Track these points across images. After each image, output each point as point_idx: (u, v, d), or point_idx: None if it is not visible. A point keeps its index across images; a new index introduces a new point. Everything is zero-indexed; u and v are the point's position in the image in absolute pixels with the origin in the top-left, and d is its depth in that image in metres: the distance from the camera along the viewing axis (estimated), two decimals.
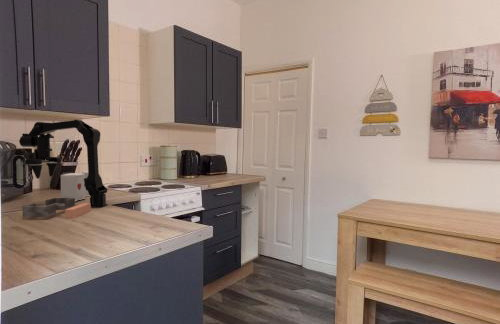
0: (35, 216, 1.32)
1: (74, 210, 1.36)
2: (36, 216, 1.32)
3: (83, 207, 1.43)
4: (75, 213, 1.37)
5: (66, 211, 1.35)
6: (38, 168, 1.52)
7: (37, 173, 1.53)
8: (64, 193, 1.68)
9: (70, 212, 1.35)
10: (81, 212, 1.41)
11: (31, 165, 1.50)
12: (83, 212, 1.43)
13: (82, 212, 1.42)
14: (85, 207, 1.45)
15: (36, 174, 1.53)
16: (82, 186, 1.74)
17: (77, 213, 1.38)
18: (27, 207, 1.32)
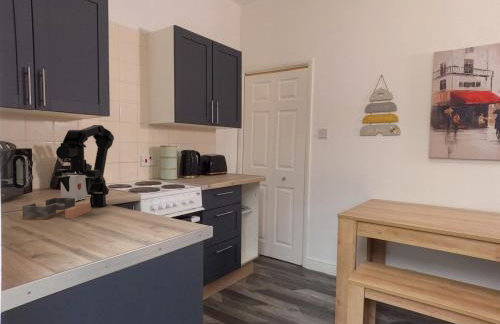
0: (35, 216, 1.32)
1: (74, 210, 1.36)
2: (36, 216, 1.32)
3: (83, 207, 1.43)
4: (75, 213, 1.37)
5: (66, 211, 1.35)
6: None
7: None
8: (64, 193, 1.68)
9: (70, 212, 1.35)
10: (81, 212, 1.41)
11: None
12: (83, 212, 1.43)
13: (82, 212, 1.42)
14: (85, 207, 1.45)
15: None
16: (82, 186, 1.74)
17: (77, 213, 1.38)
18: (27, 207, 1.32)
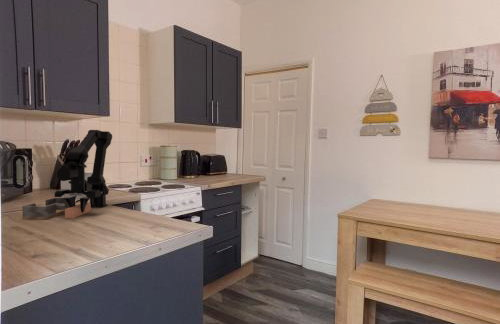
0: (35, 216, 1.32)
1: (74, 210, 1.36)
2: (36, 216, 1.32)
3: None
4: (75, 212, 1.37)
5: (66, 211, 1.35)
6: None
7: None
8: None
9: (70, 212, 1.35)
10: (81, 212, 1.41)
11: None
12: (83, 212, 1.43)
13: (82, 212, 1.42)
14: None
15: None
16: None
17: (77, 213, 1.38)
18: (27, 207, 1.32)
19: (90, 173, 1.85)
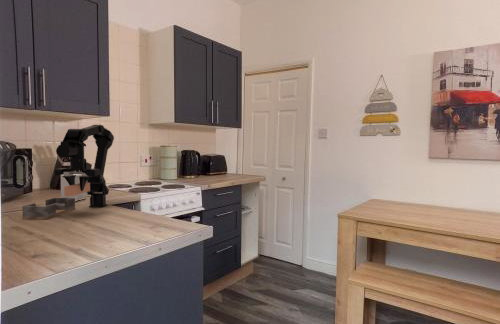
0: (35, 216, 1.32)
1: (73, 187, 1.35)
2: (36, 216, 1.32)
3: None
4: (75, 190, 1.36)
5: (65, 188, 1.34)
6: None
7: None
8: None
9: (69, 189, 1.34)
10: (80, 190, 1.40)
11: None
12: None
13: None
14: (85, 185, 1.44)
15: None
16: None
17: (76, 190, 1.37)
18: (27, 207, 1.32)
19: None
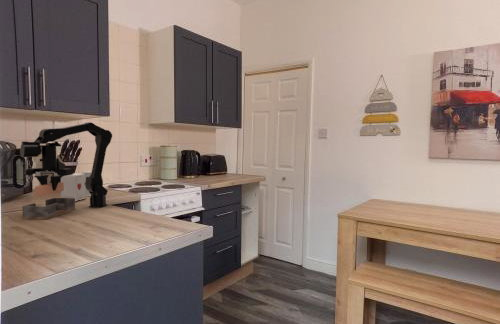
0: (35, 216, 1.32)
1: (44, 187, 1.36)
2: (36, 216, 1.32)
3: None
4: (46, 190, 1.36)
5: (36, 188, 1.34)
6: None
7: None
8: (64, 193, 1.68)
9: (40, 189, 1.34)
10: None
11: None
12: (55, 190, 1.42)
13: None
14: (57, 185, 1.44)
15: None
16: (82, 186, 1.74)
17: (48, 190, 1.38)
18: (27, 207, 1.32)
19: (90, 173, 1.85)
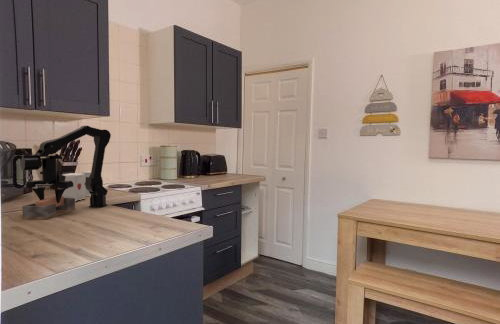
0: (35, 216, 1.32)
1: (45, 202, 1.36)
2: (36, 216, 1.32)
3: (55, 199, 1.43)
4: (46, 205, 1.37)
5: (37, 203, 1.35)
6: None
7: None
8: (64, 193, 1.68)
9: (41, 204, 1.35)
10: None
11: None
12: None
13: None
14: None
15: None
16: (82, 186, 1.74)
17: None
18: (27, 207, 1.32)
19: (90, 173, 1.85)
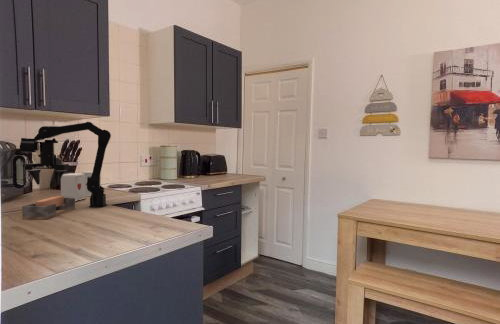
0: (35, 216, 1.32)
1: (45, 202, 1.36)
2: (36, 216, 1.32)
3: (55, 199, 1.43)
4: (46, 205, 1.37)
5: (37, 203, 1.35)
6: None
7: None
8: (64, 193, 1.68)
9: (41, 204, 1.35)
10: None
11: None
12: None
13: None
14: (58, 199, 1.45)
15: None
16: (82, 186, 1.74)
17: None
18: (27, 207, 1.32)
19: (90, 173, 1.85)
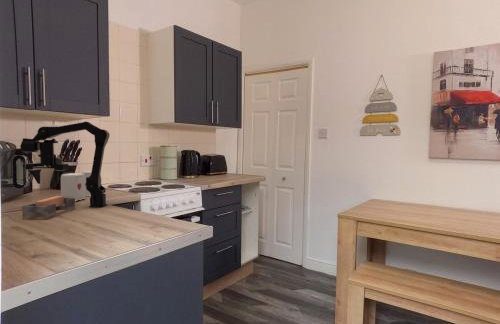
0: (35, 216, 1.32)
1: (45, 202, 1.36)
2: (36, 216, 1.32)
3: (55, 199, 1.43)
4: (46, 205, 1.37)
5: (37, 203, 1.35)
6: None
7: None
8: (64, 193, 1.68)
9: (41, 204, 1.35)
10: None
11: None
12: None
13: None
14: (58, 199, 1.45)
15: None
16: (82, 186, 1.74)
17: None
18: (27, 207, 1.32)
19: (90, 173, 1.85)
